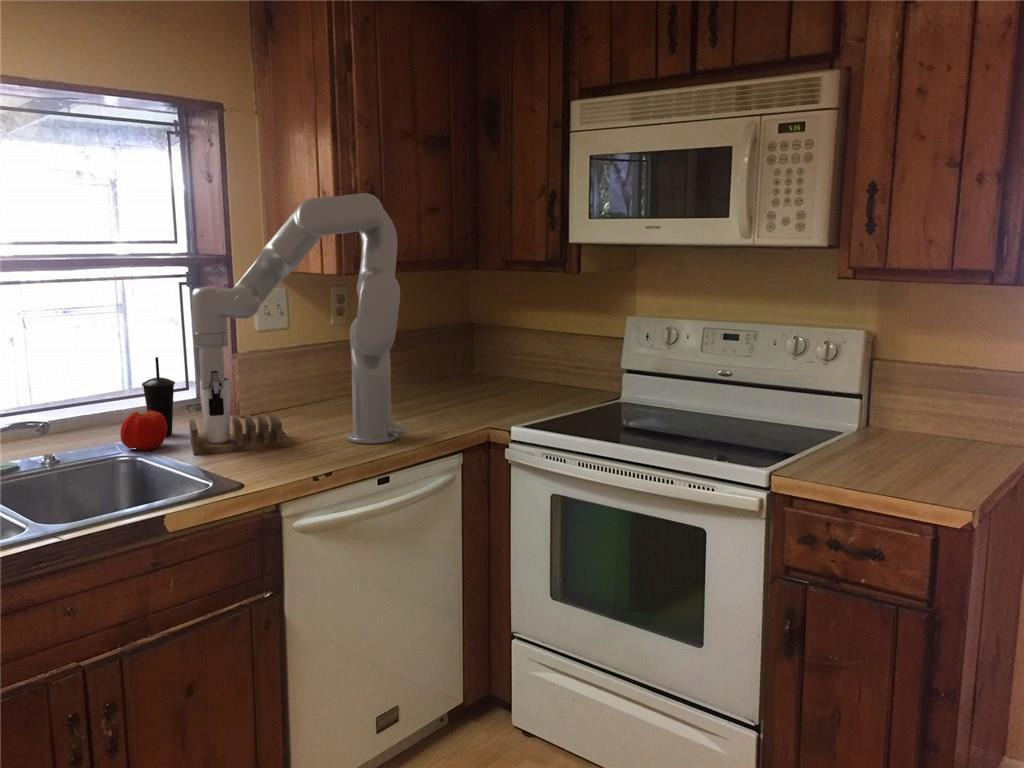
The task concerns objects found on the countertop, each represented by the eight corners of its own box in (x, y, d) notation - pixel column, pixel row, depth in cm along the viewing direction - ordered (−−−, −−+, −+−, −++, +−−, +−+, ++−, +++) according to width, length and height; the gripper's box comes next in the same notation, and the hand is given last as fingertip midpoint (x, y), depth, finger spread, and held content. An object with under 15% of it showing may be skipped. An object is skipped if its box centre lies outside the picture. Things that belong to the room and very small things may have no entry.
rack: (283, 435, 217) (282, 412, 216) (290, 446, 207) (289, 422, 205) (190, 443, 209) (189, 419, 208) (193, 455, 198) (192, 429, 197)
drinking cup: (180, 431, 221) (175, 354, 217) (175, 438, 213) (170, 359, 210) (148, 432, 219) (143, 355, 215) (142, 439, 212) (137, 360, 208)
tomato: (158, 440, 211) (155, 406, 210) (176, 449, 203) (173, 413, 202) (113, 447, 204) (110, 412, 203) (130, 456, 196) (127, 419, 195)
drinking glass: (224, 445, 201) (220, 382, 198) (197, 444, 202) (193, 381, 199) (238, 438, 208) (234, 377, 205) (212, 437, 209) (208, 376, 206)
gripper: (192, 336, 207) (196, 405, 210) (196, 345, 192) (200, 419, 195) (224, 335, 210) (228, 403, 213) (231, 343, 195) (235, 417, 198)
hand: (215, 411), depth 204 cm, fingers open, 9 cm apart
